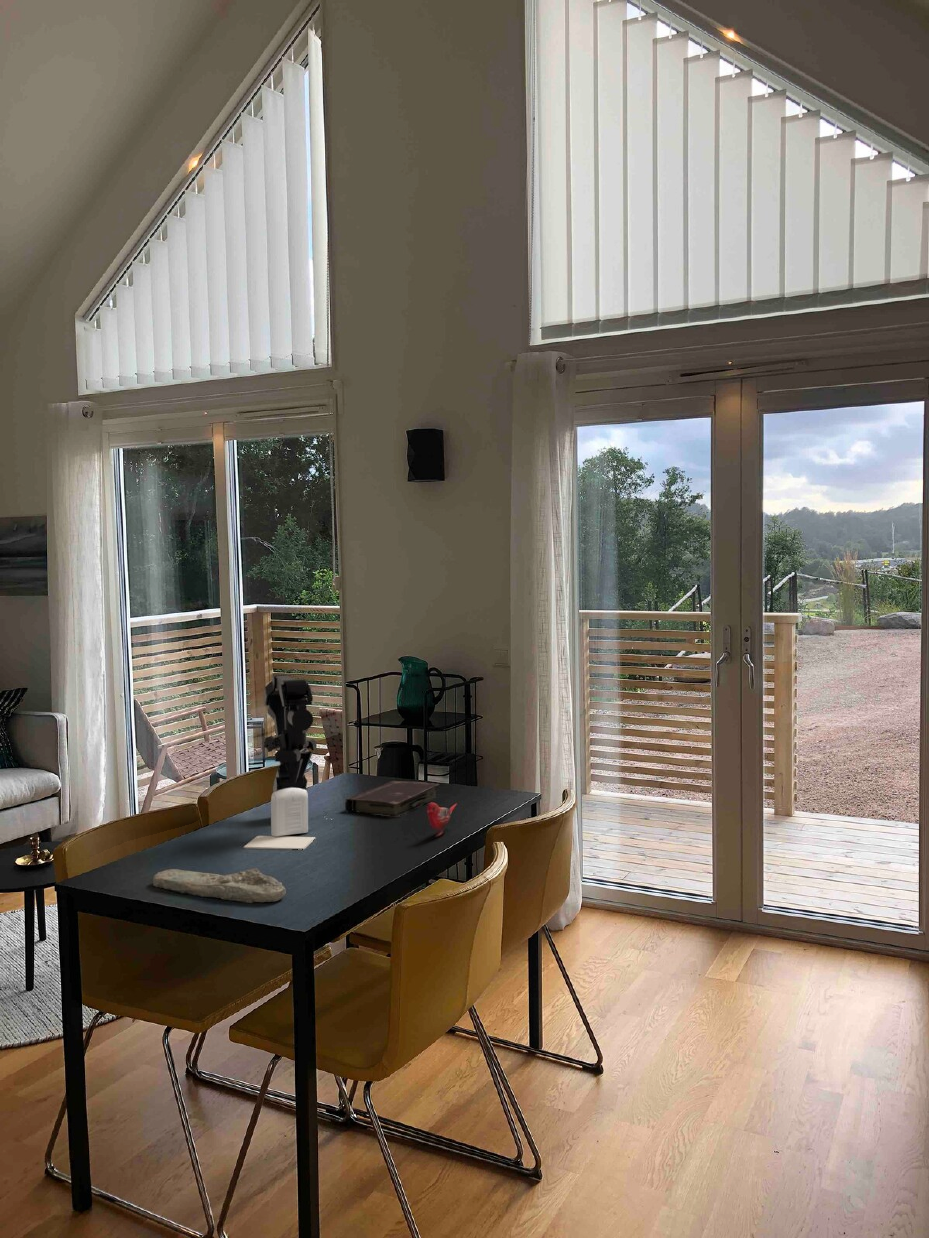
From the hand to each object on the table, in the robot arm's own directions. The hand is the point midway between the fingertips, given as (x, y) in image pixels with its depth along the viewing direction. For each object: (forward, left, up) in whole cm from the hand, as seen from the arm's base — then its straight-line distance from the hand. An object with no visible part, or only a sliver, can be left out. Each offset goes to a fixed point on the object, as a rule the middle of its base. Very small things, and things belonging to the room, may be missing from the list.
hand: (297, 780), depth 277 cm
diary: (-26, +21, -14) cm, 37 cm away
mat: (+15, 0, -13) cm, 20 cm away
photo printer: (+8, 0, -13) cm, 15 cm away
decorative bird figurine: (+3, +41, -13) cm, 43 cm away
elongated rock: (+53, -1, -14) cm, 55 cm away
